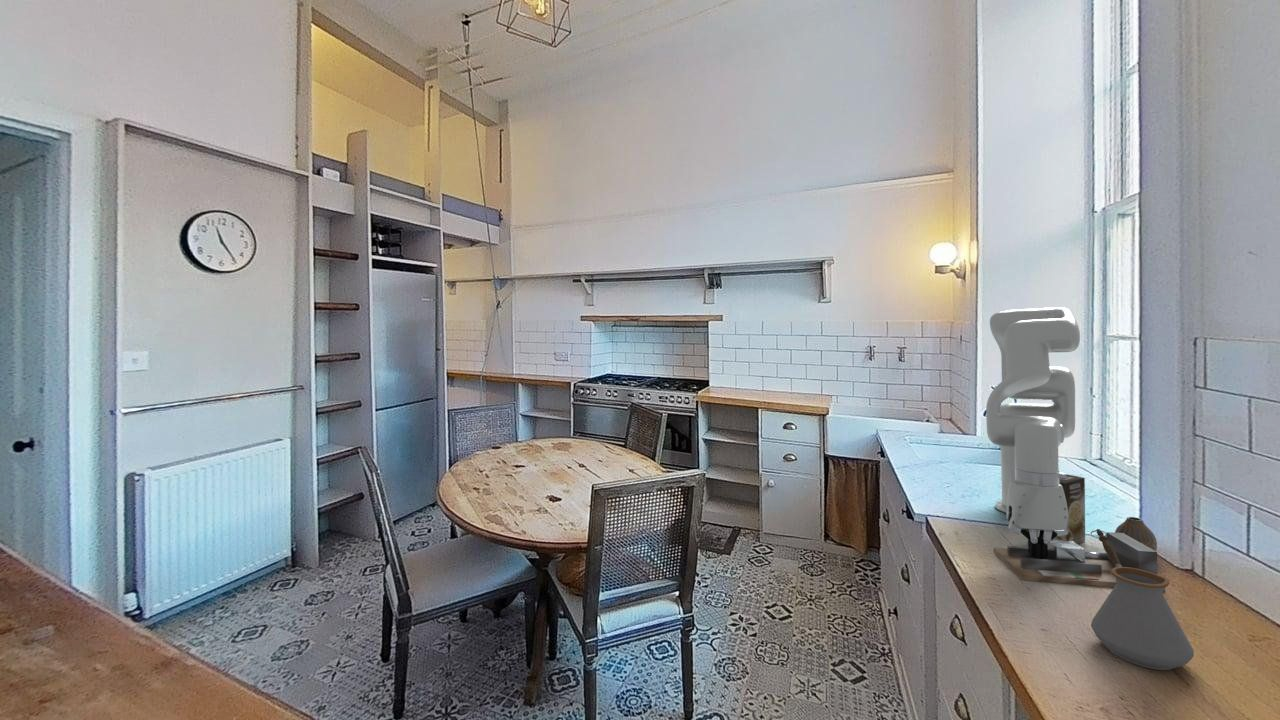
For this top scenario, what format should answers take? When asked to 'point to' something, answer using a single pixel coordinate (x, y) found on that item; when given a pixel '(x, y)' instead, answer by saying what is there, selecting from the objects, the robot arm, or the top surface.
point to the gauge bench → (1078, 572)
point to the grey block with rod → (1072, 552)
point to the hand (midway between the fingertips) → (1038, 558)
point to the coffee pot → (1140, 619)
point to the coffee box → (1074, 509)
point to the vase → (1138, 532)
